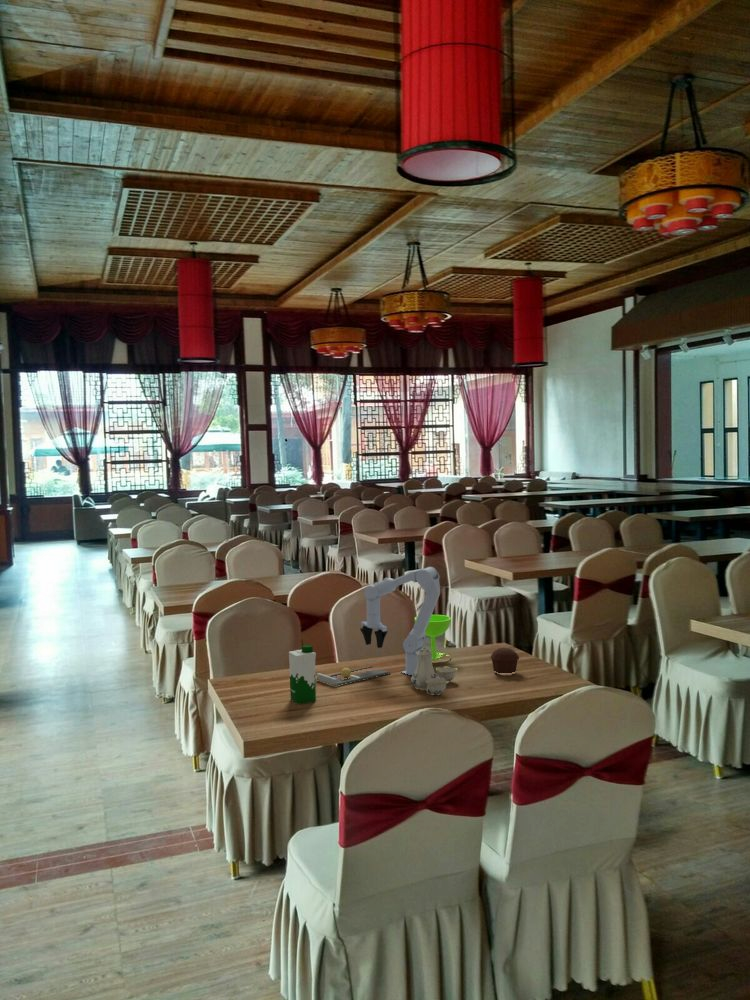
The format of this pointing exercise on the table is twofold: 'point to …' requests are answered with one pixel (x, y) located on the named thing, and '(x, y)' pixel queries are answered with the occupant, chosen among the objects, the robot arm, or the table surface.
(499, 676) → the table surface
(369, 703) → the table surface
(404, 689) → the table surface
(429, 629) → the wineglass
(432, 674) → the chinaware
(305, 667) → the milk carton
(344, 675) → the ball
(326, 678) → the lane mat
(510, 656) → the muffin
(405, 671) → the robot arm
